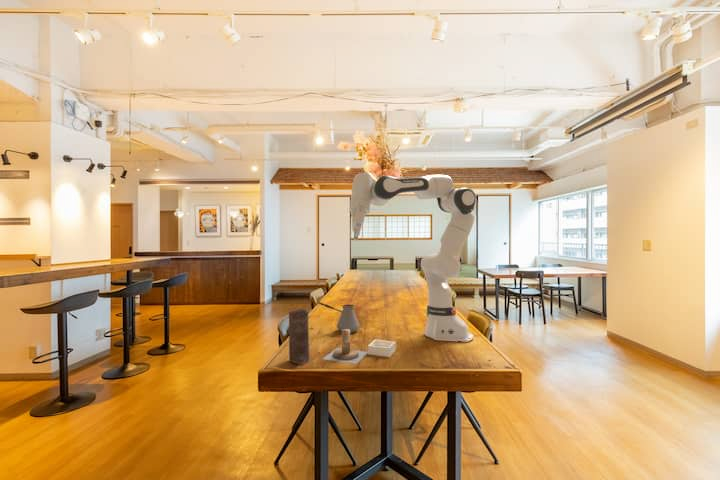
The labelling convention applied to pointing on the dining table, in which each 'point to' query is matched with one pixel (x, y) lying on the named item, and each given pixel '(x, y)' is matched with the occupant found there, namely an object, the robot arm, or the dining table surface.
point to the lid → (345, 348)
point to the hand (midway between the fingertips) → (356, 237)
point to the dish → (381, 348)
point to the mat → (353, 361)
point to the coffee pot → (346, 318)
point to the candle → (298, 336)
